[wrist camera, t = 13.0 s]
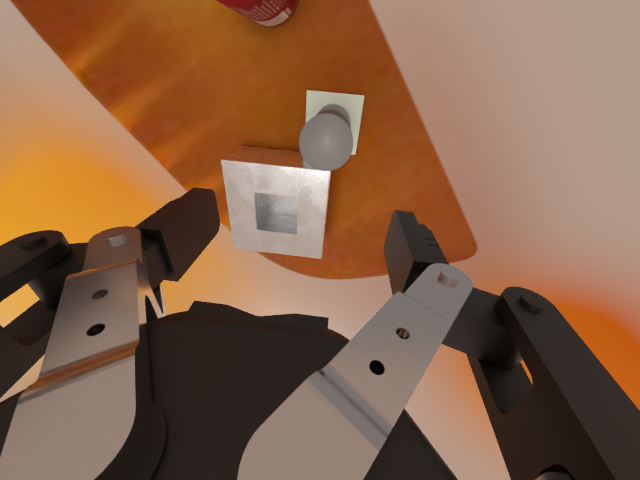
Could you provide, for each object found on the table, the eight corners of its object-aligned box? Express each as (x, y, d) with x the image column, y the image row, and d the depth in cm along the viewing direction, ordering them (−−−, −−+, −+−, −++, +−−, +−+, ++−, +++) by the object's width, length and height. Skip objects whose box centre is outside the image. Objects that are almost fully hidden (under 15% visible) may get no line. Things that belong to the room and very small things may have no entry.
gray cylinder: (312, 142, 33) (298, 168, 24) (314, 100, 31) (299, 111, 22) (349, 146, 33) (348, 173, 24) (355, 104, 30) (357, 117, 21)
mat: (305, 148, 35) (304, 149, 34) (307, 89, 31) (306, 90, 30) (355, 153, 34) (355, 154, 34) (364, 95, 30) (364, 95, 30)
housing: (249, 224, 43) (233, 248, 37) (242, 145, 35) (221, 159, 29) (325, 233, 42) (321, 258, 36) (333, 155, 35) (330, 171, 29)
